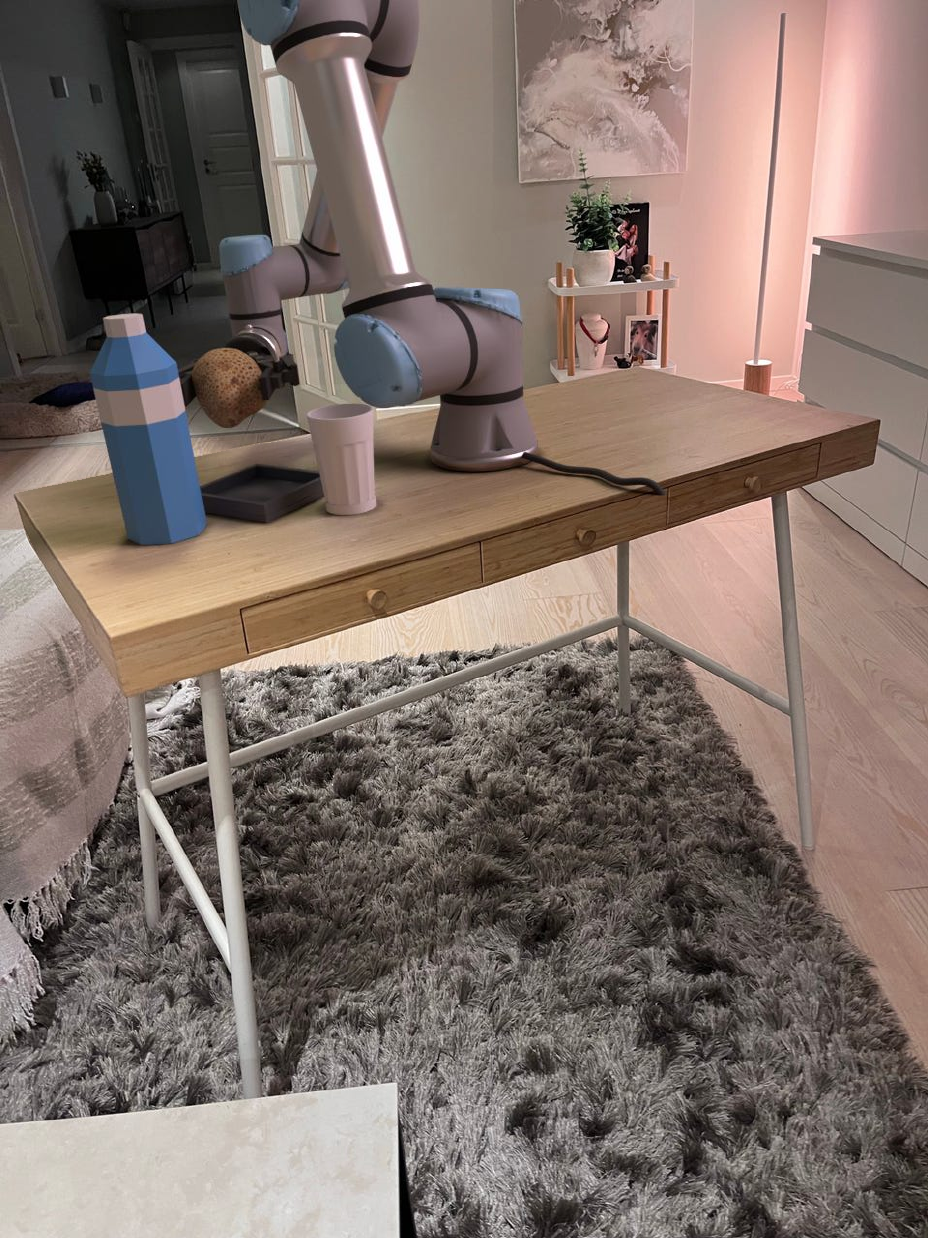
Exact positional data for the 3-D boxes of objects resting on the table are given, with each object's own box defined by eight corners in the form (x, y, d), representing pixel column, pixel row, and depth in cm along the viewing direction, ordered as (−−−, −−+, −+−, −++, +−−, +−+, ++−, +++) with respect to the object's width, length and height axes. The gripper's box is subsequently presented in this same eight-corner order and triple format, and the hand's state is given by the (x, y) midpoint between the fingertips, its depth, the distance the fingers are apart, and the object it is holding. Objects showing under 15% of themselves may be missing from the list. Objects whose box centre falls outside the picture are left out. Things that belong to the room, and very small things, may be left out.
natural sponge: (258, 438, 123) (255, 363, 123) (278, 421, 115) (275, 341, 115) (187, 433, 118) (184, 355, 119) (203, 416, 111) (200, 332, 111)
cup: (378, 493, 122) (369, 400, 117) (387, 512, 115) (377, 414, 109) (317, 501, 120) (304, 407, 115) (321, 520, 113) (308, 422, 108)
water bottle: (125, 526, 116) (77, 316, 105) (202, 513, 119) (162, 307, 108) (130, 550, 108) (78, 325, 97) (212, 536, 111) (170, 315, 100)
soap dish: (335, 490, 124) (333, 473, 123) (266, 522, 114) (263, 504, 113) (258, 479, 131) (256, 463, 130) (187, 509, 120) (183, 492, 119)
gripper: (167, 337, 131) (124, 367, 110) (324, 325, 131) (310, 353, 111) (178, 391, 134) (137, 430, 114) (331, 380, 134) (318, 416, 114)
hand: (222, 391), depth 112 cm, fingers closed on natural sponge, 9 cm apart
